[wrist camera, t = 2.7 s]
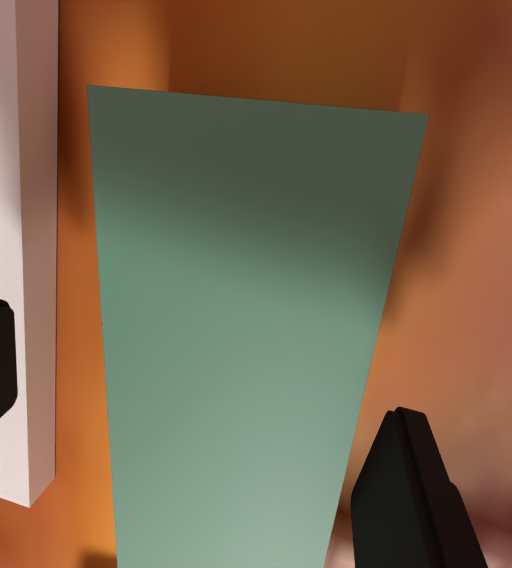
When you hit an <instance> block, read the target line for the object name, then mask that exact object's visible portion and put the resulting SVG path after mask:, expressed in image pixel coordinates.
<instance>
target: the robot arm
mask: <svg viewBox="0 0 512 568" xmlns="http://www.w3.org/2000/svg"><path fill="white" fill-rule="evenodd" d="M17 396H18V386H17V363H16V340H15V318H14V311H13V310H12V309H11V308H10V305H9V304H8V302H7V301H5V300H2V299H0V418H1V417H2V416H3V415H4V414H5V413H7V412H8V411H9V410H10V409H11V408H12V407H13V405H14V404H15V402H16V400H17ZM351 519H352V532H353V545H354V558H355V568H488V566H487V563H486V561H485V558H484V556H483V553H482V550H481V548H480V545H479V542H478V540H477V537H476V535H475V532H474V529H473V527H472V524H471V521H470V519H469V516H468V513H467V511H466V508H465V506H464V503H463V500H462V498H461V495H460V493H459V491H458V489H457V487H456V486H455V485H454V484H453V483H452V482H450V480H449V477H448V474H447V472H446V469H445V466H444V464H443V461H442V458H441V455H440V453H439V450H438V447H437V444H436V442H435V439H434V436H433V433H432V431H431V428H430V425H429V422H428V420H427V417H426V415H425V414H424V413H422V412H418V411H414V410H411V409H407V408H403V407H397V408H396V409H395V411H390V410H389V411H387V413H386V415H385V417H384V419H383V421H382V424H381V426H380V428H379V431H378V433H377V435H376V437H375V440H374V442H373V444H372V447H371V449H370V451H369V454H368V456H367V458H366V461H365V463H364V465H363V468H362V470H361V472H360V474H359V477H358V479H357V481H356V484H355V486H354V488H353V491H352V495H351Z"/></svg>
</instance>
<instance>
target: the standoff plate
mask: <svg viewBox="0 0 512 568" xmlns="http://www.w3.org/2000/svg"><path fill="white" fill-rule="evenodd" d="M57 118H58V0H0V299H2V300H5V301H7V302H8V304H9V305H10V308H11V309H12V310H13V311H14V318H15V340H16V363H17V386H18V396H17V400H16V402H15V404H14V405H13V407H12V408H11V409H10V410H9V411H8V412H7V413H5V414H4V415H3V416H2V417H1V418H0V498H3V499H6V500H9V501H12V502H14V503H17V504H20V505H23V506H26V507H29V508H30V507H31V505H32V504H33V503H34V502H35V501H36V499H37V498H38V497H39V496H40V495H41V493H42V492H43V491H44V490H45V488H46V487H47V486H48V485H49V484H50V482H51V481H52V480H53V479H54V478H55V380H56V249H57Z"/></svg>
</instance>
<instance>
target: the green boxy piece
mask: <svg viewBox="0 0 512 568" xmlns="http://www.w3.org/2000/svg"><path fill="white" fill-rule="evenodd" d="M87 95H88V111H89V127H90V143H91V158H92V174H93V190H94V206H95V221H96V237H97V253H98V269H99V284H100V300H101V316H102V332H103V348H104V363H105V379H106V395H107V411H108V426H109V442H110V458H111V474H112V489H113V505H114V521H115V537H116V552H117V568H323V566H324V561H325V557H326V553H327V549H328V544H329V540H330V536H331V532H332V527H333V523H334V519H335V515H336V510H337V506H338V502H339V498H340V493H341V489H342V485H343V481H344V476H345V472H346V468H347V463H348V459H349V455H350V451H351V446H352V442H353V438H354V434H355V429H356V425H357V421H358V417H359V412H360V408H361V404H362V400H363V395H364V391H365V387H366V383H367V378H368V374H369V370H370V366H371V361H372V357H373V353H374V349H375V344H376V340H377V336H378V331H379V327H380V323H381V319H382V314H383V310H384V306H385V302H386V297H387V293H388V289H389V285H390V280H391V276H392V272H393V268H394V263H395V259H396V255H397V251H398V246H399V242H400V238H401V234H402V229H403V225H404V221H405V217H406V212H407V208H408V204H409V200H410V195H411V191H412V187H413V182H414V178H415V174H416V170H417V165H418V161H419V157H420V153H421V148H422V144H423V140H424V136H425V131H426V127H427V123H428V119H429V115H428V114H417V113H405V112H394V111H382V110H371V109H359V108H348V107H336V106H325V105H313V104H302V103H290V102H279V101H268V100H256V99H245V98H233V97H222V96H210V95H199V94H187V93H176V92H164V91H153V90H141V89H130V88H118V87H107V86H95V85H87Z"/></svg>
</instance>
